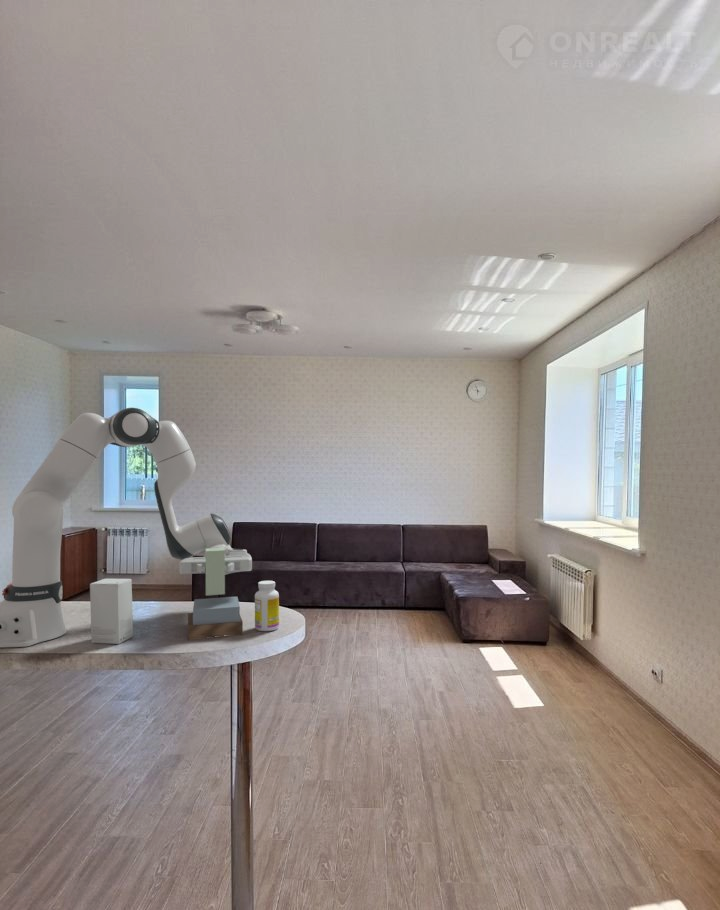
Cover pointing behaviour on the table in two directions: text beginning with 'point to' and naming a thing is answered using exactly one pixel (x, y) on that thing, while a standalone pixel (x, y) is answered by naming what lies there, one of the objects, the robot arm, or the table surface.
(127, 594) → the skincare box
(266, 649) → the table surface
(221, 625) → the tower bottom block
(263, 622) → the supplement bottle
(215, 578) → the sage block
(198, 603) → the tower top block
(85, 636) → the table surface
